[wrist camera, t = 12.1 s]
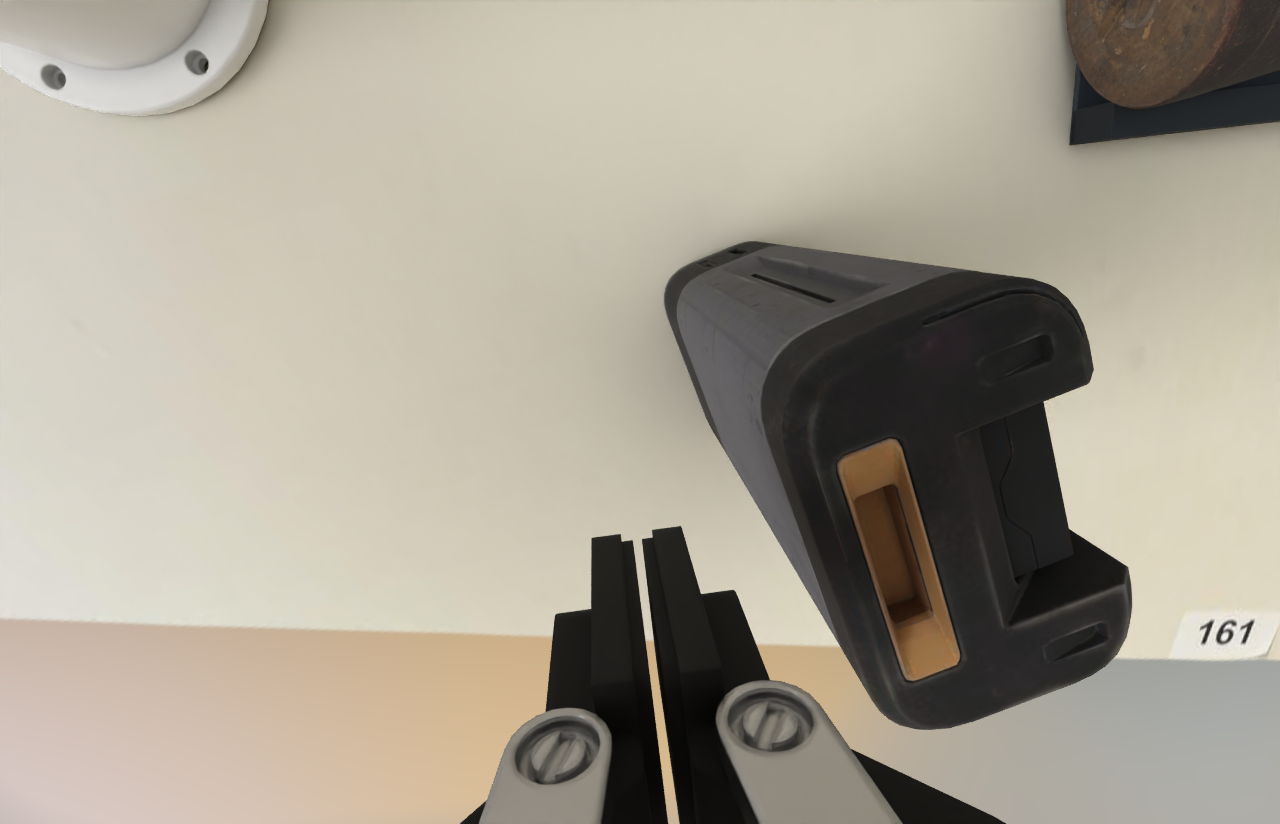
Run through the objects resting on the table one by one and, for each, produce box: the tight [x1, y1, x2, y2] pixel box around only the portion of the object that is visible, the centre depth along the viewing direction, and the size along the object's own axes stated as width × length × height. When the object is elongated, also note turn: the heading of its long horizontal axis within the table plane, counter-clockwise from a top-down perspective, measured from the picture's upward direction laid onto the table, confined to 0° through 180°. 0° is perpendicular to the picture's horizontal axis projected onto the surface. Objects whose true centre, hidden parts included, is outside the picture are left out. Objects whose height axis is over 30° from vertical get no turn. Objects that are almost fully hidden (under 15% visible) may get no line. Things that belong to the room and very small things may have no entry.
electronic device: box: [664, 242, 1132, 730], centre depth 22 cm, size 9×6×20 cm, turn 22°
